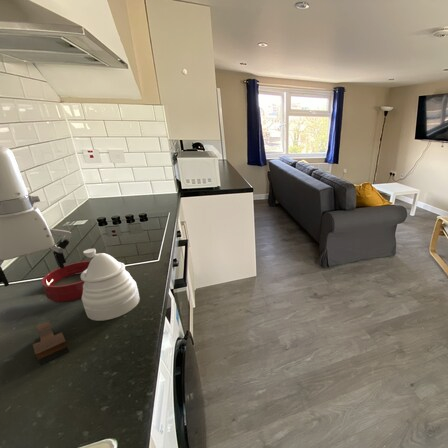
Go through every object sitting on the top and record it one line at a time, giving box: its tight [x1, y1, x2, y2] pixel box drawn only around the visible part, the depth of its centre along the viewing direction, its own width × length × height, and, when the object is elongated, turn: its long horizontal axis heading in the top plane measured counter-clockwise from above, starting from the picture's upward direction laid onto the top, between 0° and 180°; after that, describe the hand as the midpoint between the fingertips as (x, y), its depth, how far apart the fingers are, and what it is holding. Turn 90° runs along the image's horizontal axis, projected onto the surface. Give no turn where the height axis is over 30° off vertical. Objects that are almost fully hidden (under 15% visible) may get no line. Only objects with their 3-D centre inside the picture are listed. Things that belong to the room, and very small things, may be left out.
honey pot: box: [79, 248, 141, 321], centre depth 72 cm, size 13×13×18 cm
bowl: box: [40, 260, 91, 303], centre depth 82 cm, size 15×15×6 cm
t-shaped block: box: [32, 321, 70, 366], centre depth 61 cm, size 11×5×3 cm, turn 49°
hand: (35, 274), depth 62 cm, fingers open, 9 cm apart
